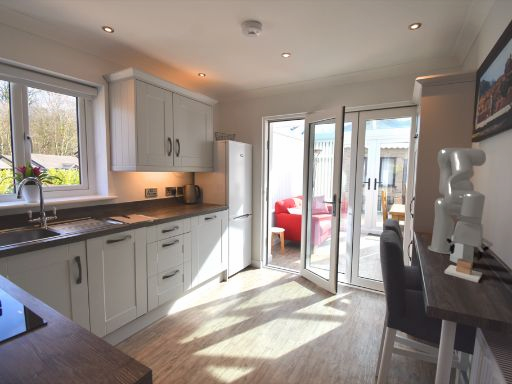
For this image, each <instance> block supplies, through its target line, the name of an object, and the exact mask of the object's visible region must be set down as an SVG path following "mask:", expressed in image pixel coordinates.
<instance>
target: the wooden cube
mask: <svg viewBox="0 0 512 384" xmlns="http://www.w3.org/2000/svg"><path fill="white" fill-rule="evenodd" d="M473 263H474V261H473V262H472V261H468V260H464V259H460V258H459V259H458V260H457V263H456V265H455V266H456V271H457V272H461V273H465V274H468V275H470V273H471V272H472V270H473Z"/></svg>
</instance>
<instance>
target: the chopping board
mask: <svg viewBox="0 0 512 384" xmlns="http://www.w3.org/2000/svg"><path fill="white" fill-rule="evenodd" d="M456 266H457V265H453V264H450V265H448V267H447V268H445V270H444V274H446V275H450V276H453V277H456V278H460V279H463V280H466V281H471V282H474V283H477V284H478V283H479V281H480V280H481V278H482V276H483V272H480V271H476V270H473V269H472V272H471V273H470V275H468V274H465V273H461V272H457V271H456Z"/></svg>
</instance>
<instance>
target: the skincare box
mask: <svg viewBox="0 0 512 384" xmlns="http://www.w3.org/2000/svg"><path fill="white" fill-rule="evenodd" d="M452 241H453V236H452ZM474 250H475V247H473V246H468V245H463V244H459V243H455V249H454V253H453V254H451V252H450V254H449V255H450V256H449V261H450V262H453V263H454V264H457V260H458V259H459V258H460V259H464V260H468V261H472V262H473V263H474V254H475V253H474Z"/></svg>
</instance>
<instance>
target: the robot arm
mask: <svg viewBox="0 0 512 384" xmlns="http://www.w3.org/2000/svg"><path fill="white" fill-rule="evenodd" d="M486 159H487V156H486V152H484V150H483V149H479V148H473V147H472V148H471V147H445V148H441V149H440V150H439V151H438V153H437V166H438V168H439V180H438V181H439V186H438V192H439V194H441V195H443V196H444V197H439V198H437V199H436V200H435V201H434V220H433V221H434V222H433V227H432V230H433V231H432V235H431V236H432V238H431V245H428V246H427V249H428V250H429V251H431V252H434V253H438V254H442V255H443V254H444V255H450V252H451V254H453V253H454V249H455V243H459V244H463V245H468V246H473V247H474V248H477V249H478V252H477V258H476V260H477V261H480V260H481V259H483V256H484V255H483V254H484V252H486V251H488V250H489V249H491V248H492V246H493V245H494V243H493V242H491V241H490V240H488V239H486V238H485V237H484V225H483V224H482V219H483V214H484V207H485V200H486V195H485V194H483V193H481V192H480V191H476V190H474V189H475V187H474V186H475V185H474V183H473V182H472V181H470V179H472V178H473V177H474V174H475V171H474V167H481V166H483V165H484V164H485V163H486V161H487V160H486ZM452 216H456V217H455V218H456V219H458V221H457V222H456V225H455V221H454V220H453V218H452ZM452 236H453V241H452ZM483 242H484V244H486V246H484V247H483V246H482V244H483Z"/></svg>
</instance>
